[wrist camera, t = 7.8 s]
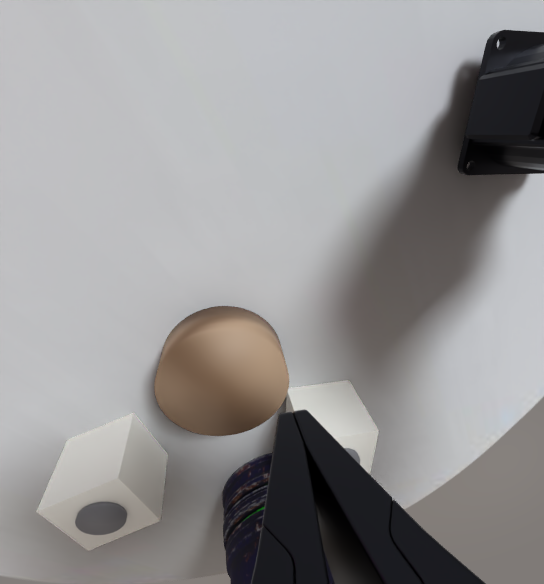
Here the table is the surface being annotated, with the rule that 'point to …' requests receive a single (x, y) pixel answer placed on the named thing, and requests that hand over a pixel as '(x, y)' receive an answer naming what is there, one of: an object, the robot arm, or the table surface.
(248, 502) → the storage jar
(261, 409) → the beige rounded disc
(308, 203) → the table surface
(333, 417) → the marked cube
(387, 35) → the table surface
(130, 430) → the marked cube
